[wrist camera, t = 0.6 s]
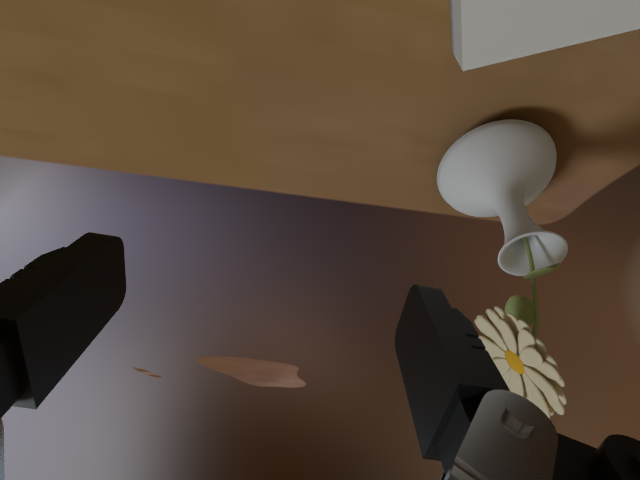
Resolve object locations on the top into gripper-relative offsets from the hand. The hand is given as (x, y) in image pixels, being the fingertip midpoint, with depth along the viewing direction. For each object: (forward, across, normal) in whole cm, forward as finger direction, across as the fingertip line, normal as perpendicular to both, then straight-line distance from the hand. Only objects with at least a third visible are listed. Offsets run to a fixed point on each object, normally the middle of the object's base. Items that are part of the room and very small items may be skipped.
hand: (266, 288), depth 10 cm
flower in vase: (+31, -20, +1) cm, 37 cm away
